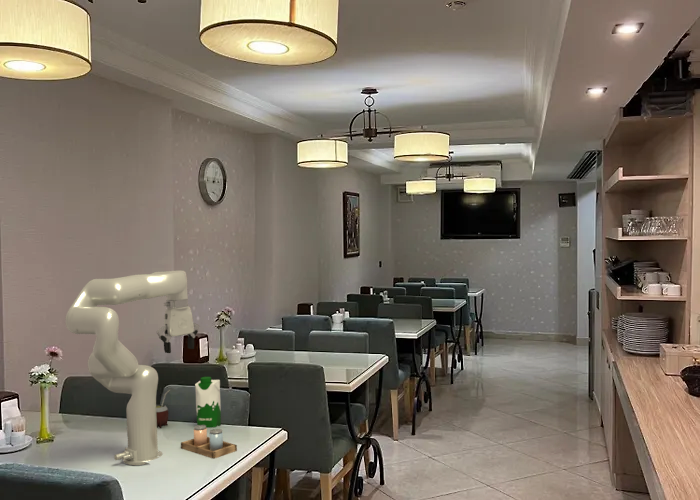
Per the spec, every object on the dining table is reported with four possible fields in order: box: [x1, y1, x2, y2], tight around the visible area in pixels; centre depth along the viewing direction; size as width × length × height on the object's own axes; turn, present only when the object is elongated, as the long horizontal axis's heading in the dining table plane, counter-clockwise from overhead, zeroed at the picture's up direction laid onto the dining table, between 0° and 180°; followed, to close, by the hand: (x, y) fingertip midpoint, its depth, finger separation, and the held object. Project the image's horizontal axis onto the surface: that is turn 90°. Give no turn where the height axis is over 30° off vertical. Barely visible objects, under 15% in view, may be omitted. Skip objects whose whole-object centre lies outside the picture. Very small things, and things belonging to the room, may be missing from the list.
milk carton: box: [194, 376, 222, 429], centre depth 255 cm, size 9×9×20 cm
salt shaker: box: [208, 428, 224, 451], centre depth 222 cm, size 4×4×7 cm
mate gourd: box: [156, 388, 172, 429], centre depth 260 cm, size 8×8×15 cm
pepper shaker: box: [193, 424, 208, 446], centre depth 228 cm, size 4×4×7 cm
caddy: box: [180, 436, 238, 459], centre depth 225 cm, size 10×18×3 cm, turn 49°
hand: (179, 350), depth 242 cm, fingers open, 9 cm apart
